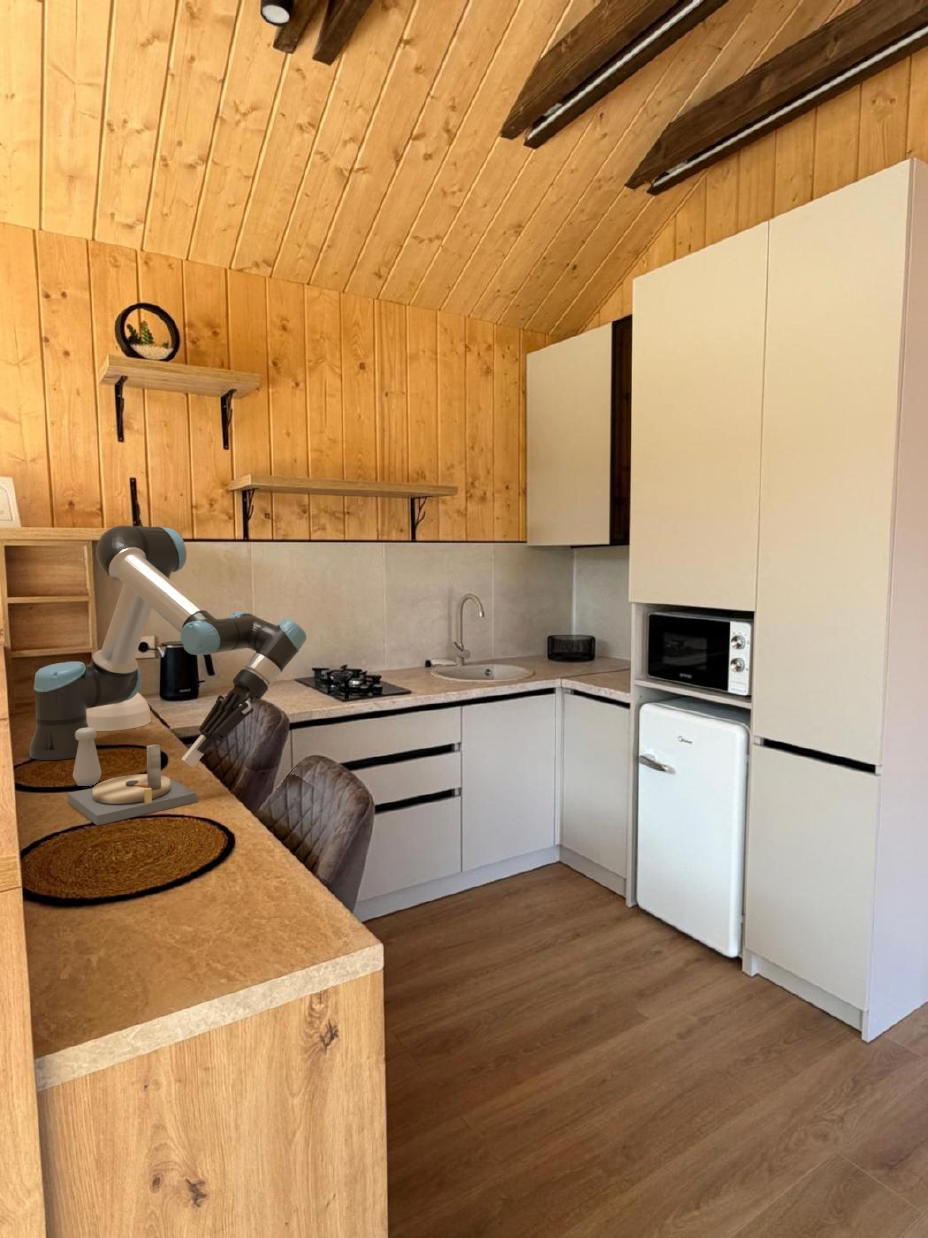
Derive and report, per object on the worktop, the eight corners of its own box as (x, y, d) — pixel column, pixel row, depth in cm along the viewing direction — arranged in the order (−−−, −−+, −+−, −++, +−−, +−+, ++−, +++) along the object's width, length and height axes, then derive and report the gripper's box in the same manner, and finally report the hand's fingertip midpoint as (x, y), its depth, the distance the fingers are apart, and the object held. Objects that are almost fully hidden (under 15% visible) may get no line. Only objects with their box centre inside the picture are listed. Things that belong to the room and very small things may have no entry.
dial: (75, 798, 149) (74, 748, 149) (132, 777, 164) (130, 731, 163) (132, 807, 144) (131, 756, 143) (185, 785, 158) (184, 738, 157)
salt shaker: (89, 789, 162) (87, 732, 161) (67, 787, 163) (65, 730, 162) (107, 781, 168) (105, 726, 167) (85, 779, 169) (83, 725, 168)
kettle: (149, 714, 238) (147, 659, 236) (153, 727, 219) (152, 669, 218) (79, 719, 229) (77, 663, 227) (78, 734, 210) (76, 673, 209)
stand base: (67, 802, 153) (67, 779, 153) (162, 782, 168) (161, 761, 167) (97, 825, 141) (96, 800, 140) (196, 801, 155) (196, 779, 154)
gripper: (281, 691, 163) (213, 779, 153) (252, 684, 173) (186, 766, 162) (259, 670, 159) (188, 759, 149) (231, 664, 168) (161, 747, 158)
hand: (187, 763), depth 156 cm, fingers closed
